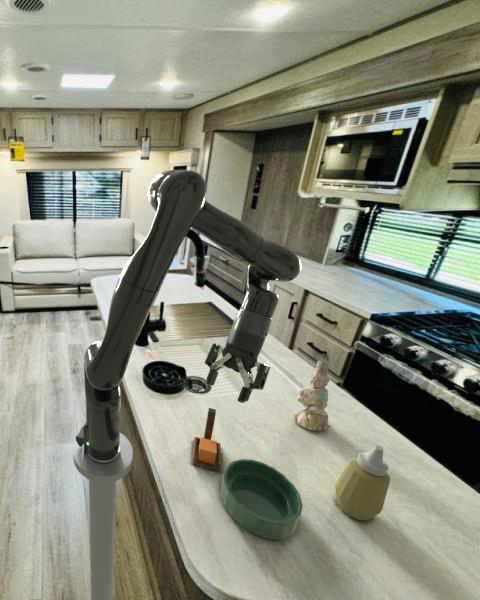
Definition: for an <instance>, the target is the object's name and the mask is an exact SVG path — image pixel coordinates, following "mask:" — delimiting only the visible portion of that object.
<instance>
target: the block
mask: <svg viewBox="0 0 480 600" xmlns="http://www.w3.org/2000/svg"><path fill="white" fill-rule="evenodd" d="M199 438H200V444H199V454H198V460H200V461H203V462H207V463H211V464H215V459H216V454H217V443H218V442H217V441H215V440H212V439H211V440H208V439H204V437H199Z"/></svg>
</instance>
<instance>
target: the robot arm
mask: <svg viewBox="0 0 480 600" xmlns="http://www.w3.org/2000/svg"><path fill="white" fill-rule="evenodd" d="M147 196H148V202H149V204H150V206H151V207H152V209H153V210H154V211H155V212H156V213H155V216H154V219H153V221H152V225H151V227H150V229H149V232H148V234H147V236H146V238H145V239H144V240H143V242H142V243H141V245H140V246H139V247H138V248H137V250H136V251H135V252H134V254H133V255H132V256H131V257H130V259H129V260H128V261H127V262H126V264H125V265H124V267H123V268H122V271H121V273H120V275H119V278H118V280H117V283H116V284H115V288H114V290H113V293H112V297H111V299H110V300H111V301H110V307H109V312H108V318H107V323H106V324H107V326H106V329H105V333H104V336H103V339H102V340H98V341H94V342H93V343H91V344H90V345H88V347H87V348H86V350H85V352H84V355H83V379H84V396H85V397H84V398H85V423H84V424H83V426H81V428H80V430H79V432H78V433H77V434H76V436H75V441H76V442H77V443H78V445H79V446H80V447H82V446H83V445H84V454H87V455H88V457H89V458H90V459H91V460H92V461H94V462H96V463H99V464H108V463H111V462H113V461H114V460H116V459H117V457H118V456H119V452H120V447H119V446H120V443H119V441H120V442H121V439H120V433H121V411H122V409H121V408H122V407H121V405H122V404H121V403H122V391H121V381H122V380H123V379H124V376H125V374H126V371H127V368H128V365H129V362H130V358H131V355H132V352H133V349H134V347H135V345H136V342H137V340H138V338H139V336H140V334H141V331H142V329H143V327H144V325H145V323H146V320H147V318H148V317H149V314H150V312H151V310H152V308H153V306H154V304H155V302H156V299H157V297H158V295H159V293H160V290H161V288H162V286H163V284H164V282H165V279H166V277H167V274H168V273H169V271H170V269H171V266H172V264H173V262H174V260H175V258H176V255H177V253H178V251H179V249H180V247H181V246H182V243H183V242H184V240H185V239H186V236H187V235H188V233H189V231H190V230H191V229H193V230H195V231H196V232H198V233H199V234H201V235H202V236H203V237H205V238H206V239H207V240H209V241H210V242H212V243H213V244H214V245H216V246H217V247H218V248H219V249H221V250H222V251H224V252H225V253H227V254H228V255H229V256H230V257H232V258H234V259H235V260H236V261H238V262H240V263H241V264H244V265H246V266H248V268H247V275H246V276H247V277H246V286H245V287H246V290H245V295H244V297H243V300H242V302H241V306H240V308H239V310H238V312H237V314H236V315H235V318H234V320H233V323H232V324H231V325H232V326H231V328H230V331H229V334H228V336H227V339H226V341H225V346H222V345H221V344H219V343H212V344H211V347H210V349H209V351H208V354H207V356H206V359H205V361H204V364H205V366H207V367H208V368H209V371H208V374H207V377H206V385H208V386H215V383H216V381H217V378H218V375H219V373H220V372H219V371H221V370H222V369H224V368H227V369H231V370H233V371H234V372H236V373H239V375H240V378H242V381H243V386H242V387H241V389H240V392H239V395H238V396H237V402H239V403H241V404H244V403H246V402H248V401H249V399H250V396H251V395H252V392H253V390H261V391H262V390H264V388H265V385H266V381H267V379H268V375H269V373H270V369H271V366H270V365H269V364H266V363H263V362H259V361H258V357H259V355H260V353H261V352H262V349H263V346H264V343H265V341H266V338H267V336H268V334H269V330H270V328H271V323H272V319H273V317H274V315H275V311H276V309H277V306H278V304H279V301H280V297H279V295H278V294H277V293H276V292H274V291H272V290H270V282H277V283H288V282H291V281H293V280H295V279H296V278H297V277H298V276H299V274H300V273H301V270H302V263H301V262H302V261H301V260H300V258H299V256H298V254H296V253H295V252H294V251H293V250H291V249H289V248H287V247H286V246H284V245H280V244H279V243H277V242H274V241H272V240H269V239H267V238H265V237H264V236H263V235H262V234H260V233H259V232H257V231H256V230H255V229H254V228H252V227H251V226H249V225H248V224H246V223H245V222H243V220H240V219H238V218H236V217H235V216H233V215H231V214H228V213H227V212H225V211H223V210H221V209H220V208H218V207H216V206H214V204H212V203H210V202H209V201H207V200H206V198H207V184H206V181H205V179H204V177H203V176H202V175H201V174H200V173H199V172H197V171H195V170H189V169H170V170H165V171H162V172H160V173H159V174H157V175H156V176H155V177H154V178H153V179H152V181H151V182H150V184H149V186H148V191H147ZM220 354H221V355H222V357H221V358H219V359H218V357H219V355H220ZM253 368H255V370H256V375H255V378H254V374H253V370H252V369H253ZM82 444H83V445H82Z"/></svg>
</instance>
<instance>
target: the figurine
mask: <svg viewBox="0 0 480 600" xmlns="http://www.w3.org/2000/svg"><path fill="white" fill-rule="evenodd" d="M329 367H330V363H329V362H328V361H327V362H326V361H323V360H317V363H316V365H315V368H314V371H313V372H312V373H311V379H310V380H309V384H308V385H307V386H305V387H304V388H303V389H301V390H299V391H298V396H297V397H296V399H297V402H298V403H300V404H301V405H302V406H303V407H304V408H302V409H301V411H299V415H297V417H296V419H297V420H296V421H297V424H298V425H299V426H300V427H302V428H304V429H307V430H309V431H325V430H329V429H330V428H331V425H330V423H329V415H328V413H327V412H326V410H325V409H326V408H327V407H328V401H329V390H328V388H326V387H327V386H328V384H329V382H330V378H329V377H328V373H329Z"/></svg>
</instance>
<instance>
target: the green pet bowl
mask: <svg viewBox="0 0 480 600" xmlns="http://www.w3.org/2000/svg"><path fill="white" fill-rule="evenodd" d="M220 498H221V501H222V504H223V506H224V508H225V510H226V511H227V512H228V514H229V515H230V516H231V518H232V519H233V520H234V522H237V524H239V526H240V527H241V528H243V529H245V530H246V531H248V532H250V533H251V534H253V535H254V536H258V537H261V538H264V539H267V540H278V541H280V540H284V539H287V538H289V537H291V536H292V535H293V533H294V532H295V531H296V530H297V527H298V524H299V521H300V518H301V516H302V512H303V501H302V498H301V494H300V493H299V490H297V488H296V485H294V483H293V482H292V481H291V480H290V479H289V478H288V477H287V476H286V475H284V474H283V473H282V472H280V471H279V470H278V469H276V468H275V467H272V466H270V465H269V464H267V463H264V462H262V461H258V460H254V459H247V458H246V459H245V458H240V459H237V460H233V461H232V462H230V463H229V464H228V465H226V467H225V469H224V471H223V474H222V479H221V485H220Z"/></svg>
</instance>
